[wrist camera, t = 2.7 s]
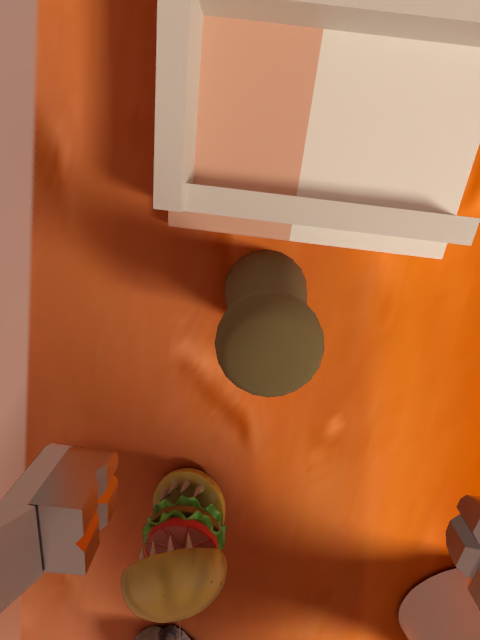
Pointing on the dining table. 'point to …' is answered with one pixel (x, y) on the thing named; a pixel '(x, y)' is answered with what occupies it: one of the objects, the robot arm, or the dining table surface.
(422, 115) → the white tray
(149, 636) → the mineral rock
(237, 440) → the dining table surface
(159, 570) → the hamburger
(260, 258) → the cork
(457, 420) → the dining table surface
